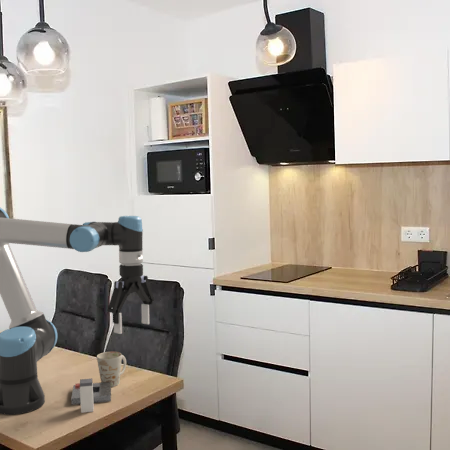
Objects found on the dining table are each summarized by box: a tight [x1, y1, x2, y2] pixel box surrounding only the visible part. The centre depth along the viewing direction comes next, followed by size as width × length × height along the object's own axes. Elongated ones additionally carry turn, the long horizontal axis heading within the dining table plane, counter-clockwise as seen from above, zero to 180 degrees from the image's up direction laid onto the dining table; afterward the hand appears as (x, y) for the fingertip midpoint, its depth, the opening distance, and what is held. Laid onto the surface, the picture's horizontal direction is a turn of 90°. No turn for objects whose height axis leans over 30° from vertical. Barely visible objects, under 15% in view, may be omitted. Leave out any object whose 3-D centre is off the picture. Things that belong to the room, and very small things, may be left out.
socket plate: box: [70, 382, 112, 406], centre depth 187 cm, size 12×12×3 cm
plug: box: [79, 378, 95, 414], centre depth 176 cm, size 4×4×9 cm
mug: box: [96, 351, 127, 388], centre depth 199 cm, size 8×13×10 cm, turn 152°
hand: (132, 328), depth 189 cm, fingers open, 13 cm apart
